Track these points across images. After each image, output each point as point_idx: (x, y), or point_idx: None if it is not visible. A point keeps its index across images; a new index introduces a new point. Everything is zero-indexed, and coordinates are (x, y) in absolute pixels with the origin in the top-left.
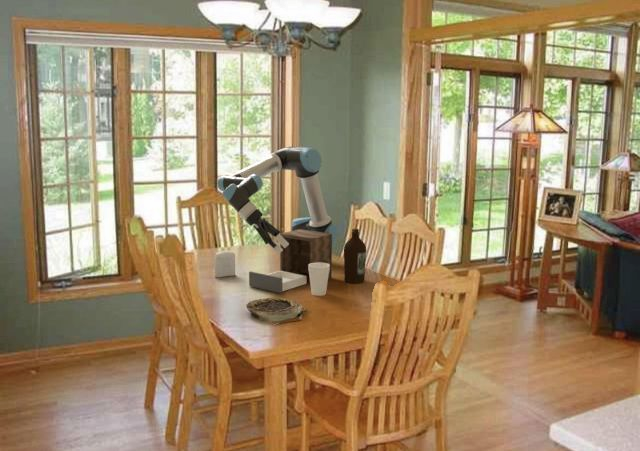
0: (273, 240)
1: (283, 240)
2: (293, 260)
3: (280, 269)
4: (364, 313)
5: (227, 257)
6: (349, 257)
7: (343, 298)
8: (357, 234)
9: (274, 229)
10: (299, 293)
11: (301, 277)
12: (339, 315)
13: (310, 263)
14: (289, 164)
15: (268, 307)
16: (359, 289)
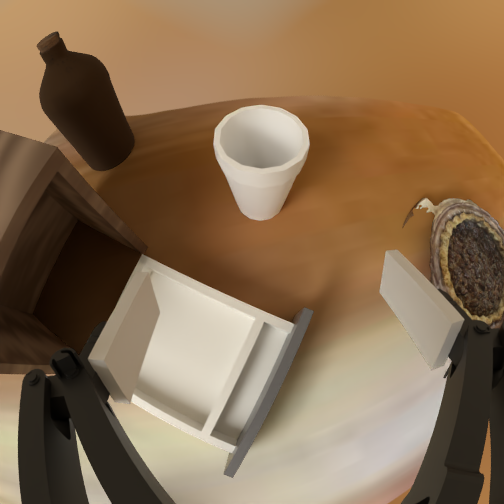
0: (455, 311)
1: (135, 314)
2: (21, 326)
3: None
4: (374, 99)
5: None
6: (104, 101)
7: None
8: (63, 42)
9: (80, 425)
10: (275, 258)
11: (167, 267)
12: (410, 136)
13: (243, 170)
14: None
15: (485, 276)
16: (189, 120)
